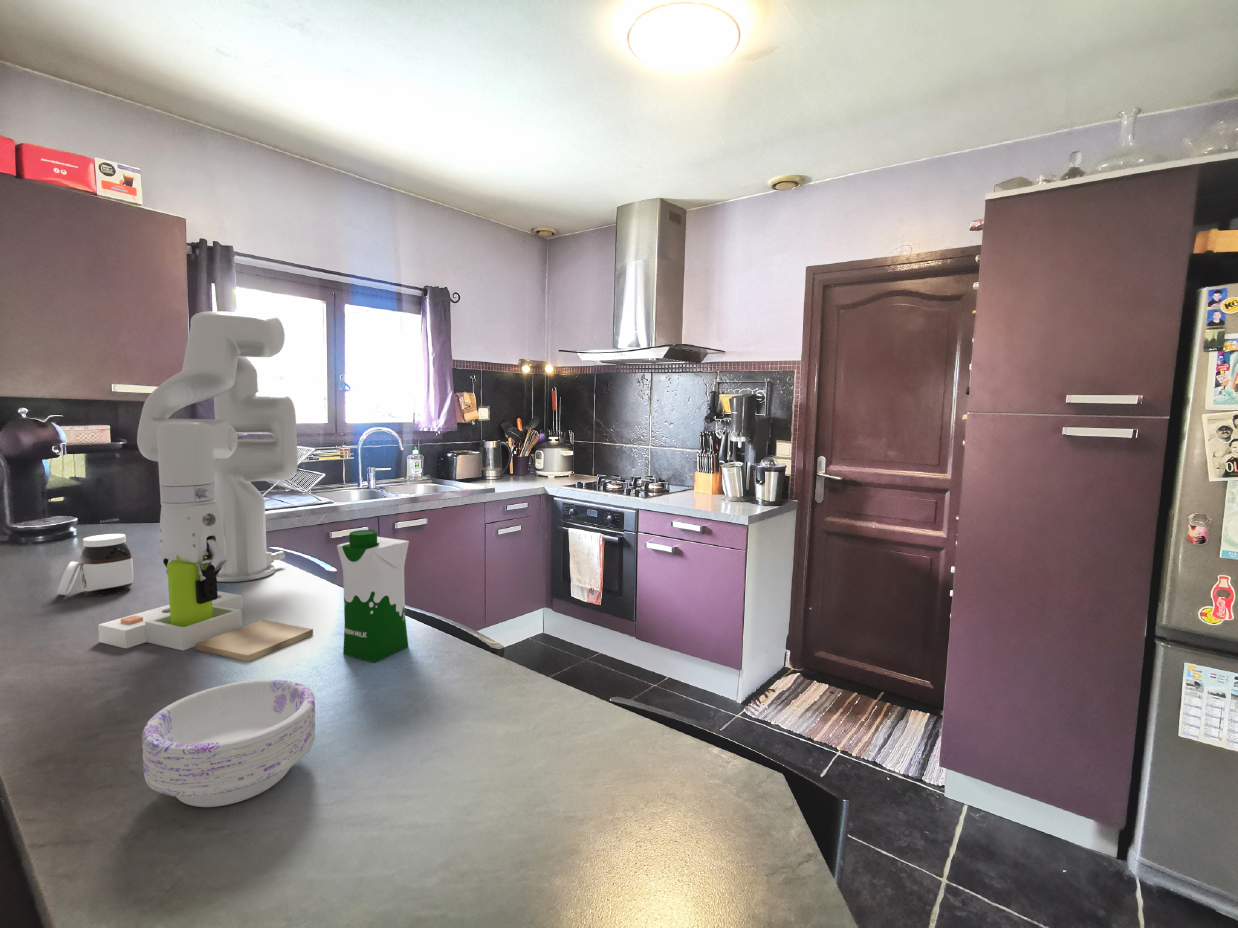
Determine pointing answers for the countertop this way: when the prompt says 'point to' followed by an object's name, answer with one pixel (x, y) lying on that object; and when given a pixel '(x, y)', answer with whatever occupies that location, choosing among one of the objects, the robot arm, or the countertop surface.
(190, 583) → the soap dispenser
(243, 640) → the oak board
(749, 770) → the countertop surface
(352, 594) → the milk carton
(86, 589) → the spread jar
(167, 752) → the paper bowls
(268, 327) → the robot arm
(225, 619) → the white holder tray
